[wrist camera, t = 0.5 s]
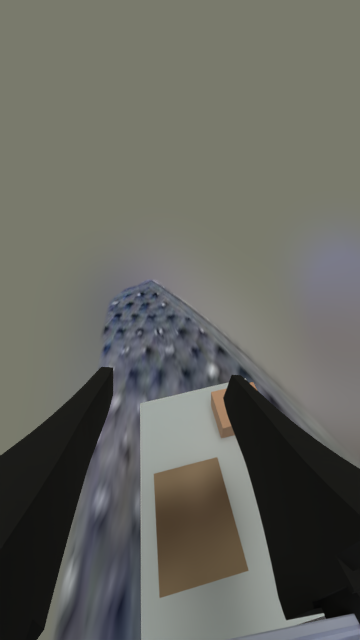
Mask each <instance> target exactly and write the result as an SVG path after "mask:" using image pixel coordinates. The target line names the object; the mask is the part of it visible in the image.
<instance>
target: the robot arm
mask: <svg viewBox="0 0 360 640" xmlns="http://www.w3.org/2000/svg"><path fill="white" fill-rule="evenodd" d="M112 396H113V368H111V367H101V368H100V369H99V370H98V371H97V372H96V373H95V374H94V375H93V376H92V377H91V379H90V380H89V381H88V382H87V383H86V384H85V385H84V386H83V387H82V388H81V389H80V390H79V391H78V392H77V393H76V394H75V395H74V396H73V397H72V398H71V399H70V400H69V401H67V402H66V403H65V404H64V405H63V406H62V407H61V408H60V409H58V410H57V411H56V412H55V413H54V414H53V415H52V416H51V417H49V418H48V419H47V420H46V421H45V422H43V423H42V424H41V425H40V426H38V427H37V428H36V429H35V430H34V431H32V432H31V433H30V434H28V435H27V436H26V437H25V438H23V439H22V440H21V441H19V442H18V443H17V444H15V445H14V446H13V447H11V448H10V449H9V450H7V451H6V452H5V453H4V454H2V455H0V640H37V639H38V637H39V636H40V634H41V633H42V632H43V630H44V627H45V623H46V619H47V615H48V611H49V607H50V604H51V600H52V596H53V592H54V588H55V584H56V580H57V577H58V573H59V569H60V565H61V561H62V558H63V554H64V550H65V547H66V543H67V539H68V536H69V532H70V528H71V525H72V521H73V517H74V514H75V510H76V507H77V503H78V500H79V496H80V493H81V489H82V486H83V482H84V479H85V475H86V472H87V469H88V466H89V463H90V460H91V457H92V455H93V452H94V449H95V447H96V444H97V441H98V439H99V436H100V433H101V431H102V428H103V425H104V423H105V420H106V417H107V414H108V411H109V408H110V404H111V400H112ZM223 400H224V404H225V408H226V412H227V415H228V418H229V421H230V424H231V426H232V429H233V432H234V434H235V437H236V439H237V442H238V445H239V447H240V450H241V452H242V455H243V458H244V461H245V464H246V467H247V470H248V473H249V477H250V480H251V484H252V487H253V491H254V495H255V498H256V502H257V506H258V509H259V513H260V517H261V522H262V526H263V530H264V534H265V538H266V542H267V546H268V551H269V556H270V560H271V565H272V569H273V574H274V579H275V584H276V589H277V594H278V598H279V601H280V604H281V607H282V610H283V613H284V616H285V619H286V620H291V619H296V618H301V617H306V616H311V615H317V614H322V613H324V615H325V617H326V619H324V620H319V621H314V622H309V623H305V624H300V625H295V626H290V627H285V628H280V629H275V630H270V631H265V632H260V633H256V634H251V635H246V636H241V637H236V638H231V639H226V640H360V469H359V468H357V467H356V466H354V465H353V464H351V463H350V462H348V461H346V460H345V459H343V458H342V457H340V456H339V455H337V454H336V453H334V452H333V451H332V450H330V449H329V448H327V447H326V446H324V445H323V444H321V443H320V442H319V441H317V440H316V439H314V438H313V437H312V436H310V435H309V434H308V433H306V432H305V431H304V430H303V429H301V428H300V427H299V426H297V425H296V424H295V423H294V422H292V421H291V420H290V419H289V418H288V417H286V416H285V415H284V414H283V413H282V412H280V411H279V410H278V409H277V408H276V407H275V406H274V405H272V404H271V403H270V402H269V401H268V400H267V399H266V398H265V397H264V396H263V395H262V394H260V393H259V392H258V391H257V390H256V389H255V388H254V387H253V386H252V385H251V384H250V383H249V382H248V381H247V380H245V379H244V378H243V377H242V376H241V375H232V376H231V378H230V381H229V384H228V386H227V389H226V392H225V394H224V397H223Z"/></svg>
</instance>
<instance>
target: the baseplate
mask: <svg viewBox="0 0 360 640" xmlns="http://www.w3.org/2000/svg"><path fill="white" fill-rule="evenodd" d="M245 380H246V379H245ZM228 384H229V383H224V384H220V385H216V386H212V387H208V388H203V389H199V390H195V391H191V392H186V393H182V394H178V395H174V396H170V397H165V398H161V399H157V400H153V401H148V402H144V403H140V456H141V640H226V639H231V638H236V637H241V636H246V635H251V634H256V633H260V632H265V631H270V630H275V629H280V628H285V627H290V626H295V625H298V624H301V623H304V622H307V621H310V620H313V619H316V618H319V617H322V616H325V615H324V613H322V614H317V615H311V616H306V617H301V618H296V619H291V620H286V619H285V616H284V613H283V610H282V607H281V604H280V601H279V598H278V594H277V589H276V584H275V579H274V574H273V569H272V565H271V560H270V556H269V551H268V546H267V542H266V538H265V534H264V530H263V526H262V522H261V517H260V513H259V509H258V506H257V502H256V498H255V495H254V491H253V487H252V484H251V480H250V477H249V473H248V470H247V467H246V464H245V461H244V458H243V455H242V452H241V450H240V447H239V445H238V442H237V439H236V437H235V435H233V436H229V437H225V438H221V436H220V433H219V430H218V427H217V423H216V420H215V417H214V414H213V411H212V407H211V392H214V391H218V390H222V389H226V388H227V386H228ZM216 457H217V458H218V461H219V465H220V469H221V472H222V476H223V479H224V483H225V487H226V490H227V494H228V498H229V501H230V505H231V508H232V512H233V516H234V519H235V523H236V527H237V530H238V534H239V537H240V541H241V545H242V548H243V552H244V556H245V559H246V563H247V566H248V570H249V571H246V572H243V573H240V574H236V575H233V576H230V577H227V578H223V579H220V580H217V581H214V582H210V583H207V584H204V585H201V586H197V587H194V588H191V589H188V590H184V591H181V592H178V593H175V594H171V595H168V596H165V597H162V598H160V597H159V576H158V555H157V534H156V513H155V491H154V474H155V473H159V472H162V471H166V470H170V469H174V468H178V467H181V466H185V465H189V464H193V463H197V462H200V461H204V460H208V459H212V458H216Z"/></svg>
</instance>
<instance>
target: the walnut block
mask: <svg viewBox="0 0 360 640" xmlns="http://www.w3.org/2000/svg"><path fill="white" fill-rule="evenodd" d="M154 491H155V513H156V534H157V555H158V576H159V597H160V598H162V597H165V596H168V595H171V594H175V593H178V592H181V591H184V590H188V589H191V588H194V587H197V586H201V585H204V584H207V583H210V582H214V581H217V580H220V579H223V578H227V577H230V576H233V575H236V574H240V573H243V572H246V571H249V570H248V566H247V563H246V559H245V556H244V552H243V548H242V545H241V541H240V537H239V534H238V530H237V527H236V523H235V519H234V516H233V512H232V508H231V505H230V501H229V498H228V494H227V490H226V487H225V483H224V479H223V476H222V472H221V469H220V465H219V461H218V458H217V457H216V458H212V459H208V460H204V461H200V462H197V463H193V464H189V465H185V466H181V467H178V468H174V469H170V470H166V471H162V472H159V473H155V474H154Z"/></svg>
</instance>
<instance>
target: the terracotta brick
mask: <svg viewBox="0 0 360 640" xmlns="http://www.w3.org/2000/svg"><path fill="white" fill-rule="evenodd" d="M250 384H251V385H252V386H253V387H254V388H255V389H256V387H255V385H254V383H253V382H251V383H250ZM226 389H227V388H226ZM226 389H222V390H218V391H214V392H211V407H212V411H213V414H214V417H215V420H216V423H217V427H218V430H219V433H220V436H221V438H225V437H229V436H233V435H235V434H234V432H233V429H232V426H231V424H230V421H229V418H228V415H227V412H226V408H225V404H224V400H223V397H224V394H225V392H226ZM256 390H257V389H256Z"/></svg>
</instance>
